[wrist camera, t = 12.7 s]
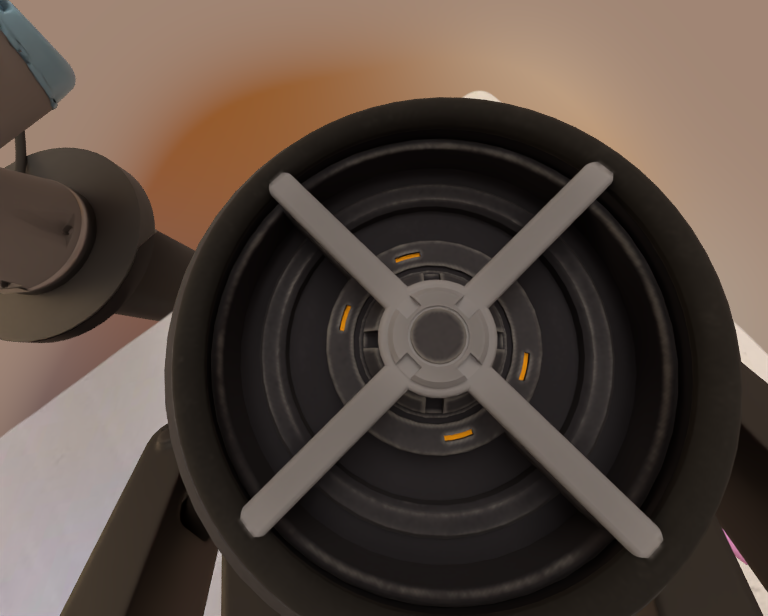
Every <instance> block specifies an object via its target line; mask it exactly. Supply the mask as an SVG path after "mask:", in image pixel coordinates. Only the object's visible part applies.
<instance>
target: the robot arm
mask: <svg viewBox="0 0 768 616" xmlns="http://www.w3.org/2000/svg"><path fill="white" fill-rule="evenodd" d="M74 85H75V75H74V72H73V70H72V68H71V66H70V65H69V64H68V62H67V61H66V60H65V59H64V58H63V57H62V56H61V55H60V54H59V52H58V51H57V50H56V49H55V48H54V47H53V46H52V45H51V44H50V43H49V42H48V41H47V40H46V39H45V38H44V37H43V36H42V34H41V33H40V32H39V31H38V30H37V29H36V28H35V27H34V26H33V25H32V24H31V23H30V22H29V21H28V20H27V19H26V18H25V17H24V15H22V14H21V12H20V11H19V10H18V9H17V8H16V7H15V6H14V5H13V4H12V3H11V2H10V1H9V0H0V148H2V147H3V146H4V145H6V144H7V143H8V142H10V141H11V140H12V139H14V138H15V146H16V147H15V148H16V161H15V171H12V170H8V169H4V168H0V293H4V294H6V293H17V294H23V295H36V294H42V293H46V292H48V291H51V290H53V289H56V288H58V287H59V286H61V285H63V284H64V283H66V282H67V281H68V280H70V279H71V278H72V277H73V276H74V275H75V274H76V273H77V272H78V271H79V270H80V269H81V268H82V266H83V265H84V264H85V262H86V260H87V259H88V257H89V255H90V253H91V251H92V248H93V246H94V242H95V238H96V229H97V226H96V217H95V214H94V211H93V208H92V207H91V205H90V203H89V202H88V201H87V199H86V198H85V197H84V196H82V195H81V194H80V193H78V192H77V191H75V190H73V189H71V188H69V187H67V186H65V185H63V184H61V183H59V182H57V181H54V180H50V179H45V178H41V177H37V176H33V175H29V174H26V141H25V130H26V129H27V128H28V127H30V126H31V125H32V124H34V123H35V122H36V121H38V120H39V119H40V118H42V117H43V116H44V115H46V114H47V113H48V112H50V111H51V110H53V109H55V108H57V103H58V102H59V101H60V100H61V99H63V98H64V97H65V96H66V95H67V94H68V93H69V92H70V91H71V90H72V89H73V87H74ZM741 371H742V385H743V395H742V420H741V427H740V434H739V441H738V448H737V452H736V456H735V460H734V464H733V468H732V472H731V476H730V479H729V482H728V484H727V487H726V490H725V492H724V495H723V498H722V500H721V503H720V506H719V508H718V510H717V512H716V514H715V516H714V518H713V520H712V522H711V524H710V526H709V528H708V530H707V532H706V533H705V535H704V536H703V538H702V540H701V541H700V543H699V544H698V546H697V547H696V549H695V550H694V552H693V553H692V555H691V556H690V558H689V559H688V560H687V562H686V563H685V564H684V565H683V566H682V568H681V569H680V570H679V571H678V572H677V574H676V575H675V576H674V577H673V578H672V580H671V581H670V582H669V583H668V584H667V585H666V587H665V588H664V589H663V590H662V591H661V593H660V594H659V595H658V596H657V597H656V598H655V599H653V600H652V601H651V602H650V603H649V604H648V605H647V606H645V607H644V608H643V609H642V610H641V611H640V612H639V613H637V614H636V615H635V616H763V614H762V612H761V610H760V608H759V606H758V603H757V601H756V599H755V597H754V595H753V593H752V591H751V589H750V586H749V584H748V582H747V580H746V578H745V576H744V574H743V572H742V569H741V567H740V565H739V563H738V561H737V559H736V557H735V555H734V552H733V550H732V548H731V546H730V544H729V542H728V540H727V538H726V535H725V533H726V534H727V536H728V537H729V538H730V540H731V541H732V543H733V544H734V545H735V547H736V548H737V550H738V551H739V553H740V554H741V555H742V557H743V558H744V560H745V561H746V562H747V564H748V565H749V567H750V568H751V569H752V571H753V572H754V574H755V575H756V576H757V578H758V579H759V581H760V582H761V584H762V585H763V586H764V588H765V589H766V591H767V592H768V384H767V383H766V382H765V381H764V380H763V379H761V378H760V377H759V376H758V375H757V374H755V373H754V372H753V371H752V370H750V369H749V368H748V367H747V366H746V365H744V364H743V363H742V362H741ZM723 530H724V531H725V533H724V531H723ZM217 552H218V548H217V547H216V546H215V544H214V542H213V541H212V539H211V537H210V535H209V534H208V532H207V530H206V529H205V527H204V525H203V523H202V522H201V520H200V518H199V517H198V515H197V513H196V511H195V509H194V507H193V504H192V502H191V499H190V497H189V495H188V492H187V490H186V488H185V485H184V483H183V480H182V478H181V475H180V472H179V468H178V465H177V461H176V457H175V454H174V450H173V447H172V443H171V439H170V432H169V425H168V424H166V425H165V426H163V427H162V428H160V429H159V430H158V431H157V432H156V433H155V434H154V435H153V436H152V438H151V439H150V440H149V442H148V443H147V445H146V447H145V449H144V451H143V453H142V455H141V457H140V459H139V461H138V463H137V465H136V467H135V469H134V471H133V473H132V475H131V477H130V479H129V481H128V483H127V485H126V486H125V488H124V490H123V492H122V494H121V496H120V498H119V500H118V502H117V504H116V506H115V508H114V510H113V512H112V514H111V516H110V518H109V520H108V522H107V524H106V526H105V528H104V530H103V532H102V534H101V536H100V538H99V540H98V542H97V544H96V545H95V547H94V549H93V551H92V553H91V555H90V557H89V559H88V561H87V563H86V565H85V567H84V569H83V571H82V573H81V575H80V577H79V579H78V581H77V583H76V585H75V587H74V589H73V591H72V593H71V595H70V597H69V599H68V601H67V602H66V604H65V606H64V608H63V610H62V612H61V614H60V616H203V615H204V610H205V606H206V601H207V597H208V593H209V588H210V584H211V579H212V575H213V570H214V566H215V561H216V557H217ZM221 616H282V615H281V614H279V613H278V612H277V611H275V610H274V609H273V608H271V607H270V606H269V605H267V604H266V603H265V602H264V601H263V600H262V599H261V598H260V597H259V596H258V595H257V594H256V593H255V592H254V591H253V590H252V589H251V588H250V587H249V586H248V585H247V584H246V583H245V582H244V581H243V580H242V579H241V578H240V577H239V575H238V574H237V573H236V572H235V570H234V569H233V568H232V566H231V565H230V564H229V563H228V561H227V560H226V559H225V557H224V556H223V555H222V594H221Z"/></svg>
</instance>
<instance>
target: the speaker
mask: <svg viewBox="0 0 768 616" xmlns="http://www.w3.org/2000/svg"><path fill="white" fill-rule="evenodd" d="M742 395H743V385H742V371H741V358H740V352H739V346H738V340H737V335H736V330H735V326H734V322H733V319H732V315H731V311H730V308H729V304H728V301H727V299H726V296H725V294H724V291H723V288H722V286H721V283H720V280H719V278H718V276H717V274H716V271H715V269H714V267H713V265H712V263H711V261H710V259H709V257H708V255H707V253H706V252H705V250H704V248H703V246H702V245H701V243H700V242H699V240H698V238H697V237H696V235H695V233H694V232H693V230H692V228H691V227H690V226H689V224H688V223H687V222H686V220H685V219H684V218H683V216H682V215H681V214H680V212H679V211H678V210H677V208H676V207H675V206H674V205H673V204H672V203H671V202H670V200H669V199H668V198H667V197H666V196H665V195H664V194H663V192H662V191H661V190H660V189H659V188H658V187H657V186H656V185H655V184H654V183H653V182H652V181H651V180H650V179H648V177H646V176H645V175H644V174H643V173H642V172H641V171H640V170H639V169H638V168H636V167H635V166H634V165H633V164H631V163H630V162H629V161H628V160H626V159H625V158H624V157H623V156H621V155H620V154H619V153H617V152H616V151H614V150H613V149H611V148H610V147H608V146H607V145H605V144H604V143H602V142H601V141H599V140H597V139H596V138H594V137H592V136H590V135H588V134H587V133H585V132H583V131H581V130H579V129H577V128H576V127H573V126H571V125H569V124H567V123H564V122H562V121H560V120H557V119H555V118H553V117H550V116H547V115H544V114H541V113H538V112H536V111H533V110H530V109H526V108H522V107H518V106H514V105H510V104H505V103H500V102H494V101H489V100H481V99H470V98H443V97H439V98H426V99H425V98H424V99H413V100H407V101H400V102H393V103H389V104H385V105H381V106H376V107H372V108H369V109H366V110H363V111H359V112H356V113H353V114H350V115H348V116H345V117H343V118H341V119H338V120H336V121H334V122H331V123H329V124H327V125H325V126H323V127H321V128H319V129H317V130H315V131H313V132H311V133H309V134H308V135H306V136H305V137H303V138H301V139H300V140H298V141H297V142H295V143H293V144H292V145H290V146H289V147H287V148H286V149H284V150H283V151H281V152H280V153H278V154H277V155H276V156H275V157H273V158H272V159H271V160H270V161H268V162H267V163H266V164H265V165H263V166H262V167H261V168H260V169H258V170H257V171H256V172H255V173H254V174H253V175H252V176H251V177H250V178H249V179H248V180H247V181H246V182H245V183H244V184H243V185H242V186H241V187H240V188H239V189H238V190H237V191H236V192H235V193H234V194H233V196H232V197H231V198H230V199H229V201H228V202H227V203H226V205H225V206H224V207H223V208H222V210H221V211H220V212H219V213H218V215H217V216H216V217H215V219H214V220H213V222H212V224H211V225H210V227H209V228H208V230H207V231H206V233H205V235H204V236H203V238H202V239H201V241H200V243H199V244H198V247H197V249H196V251H195V253H194V255H193V257H192V259H191V261H190V263H189V265H188V268H187V270H186V272H185V275H184V277H183V280H182V283H181V286H180V289H179V292H178V295H177V298H176V301H175V304H174V309H173V313H172V318H171V323H170V327H169V332H168V338H167V349H166V359H165V405H166V412H167V419H168V425H169V432H170V439H171V443H172V447H173V450H174V454H175V457H176V461H177V465H178V468H179V472H180V475H181V478H182V480H183V483H184V485H185V488H186V490H187V492H188V495H189V497H190V499H191V502H192V504H193V507H194V509H195V511H196V513H197V515H198V517H199V518H200V520H201V522H202V523H203V525H204V527H205V529H206V530H207V532H208V534H209V535H210V537H211V539H212V541H213V542H214V544H215V546H216V547H217V548H218V550H219V551H220V552H221V553H222V555H223V556H224V557H225V559H226V560H227V561H228V563H229V564H230V565H231V566H232V568H233V569H234V570H235V572H236V573H237V574H238V575H239V577H240V578H241V579H242V580H243V581H244V582H245V583H246V584H247V585H248V586H249V587H250V588H251V589H252V590H253V591H254V592H255V593H256V594H257V595H258V596H259V597H260V598H261V599H262V600H263V601H264V602H265V603H266V604H267V605H269V606H270V607H271V608H273V609H274V610H275V611H277V612H278V613H279V614H281V615H282V616H635V615H636V614H637V613H639V612H640V611H641V610H642V609H643V608H644V607H645V606H647V605H648V604H649V603H650V602H651V601H652V600H653V599H655V598H656V597H657V596H658V595H659V594H660V593H661V591H662V590H663V589H664V588H665V587H666V585H667V584H668V583H669V582H670V581H671V580H672V578H673V577H674V576H675V575H676V574H677V572H678V571H679V570H680V569H681V568H682V566H683V565H684V564H685V563H686V562H687V560H688V559H689V558H690V556H691V555H692V553H693V552H694V550H695V549H696V547H697V546H698V544H699V543H700V541H701V540H702V538H703V536H704V535H705V533H706V532H707V530H708V528H709V526H710V524H711V522H712V520H713V518H714V516H715V514H716V512H717V510H718V508H719V506H720V503H721V500H722V498H723V495H724V492H725V490H726V487H727V484H728V482H729V479H730V476H731V472H732V468H733V464H734V460H735V456H736V452H737V448H738V441H739V434H740V427H741V420H742Z"/></svg>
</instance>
